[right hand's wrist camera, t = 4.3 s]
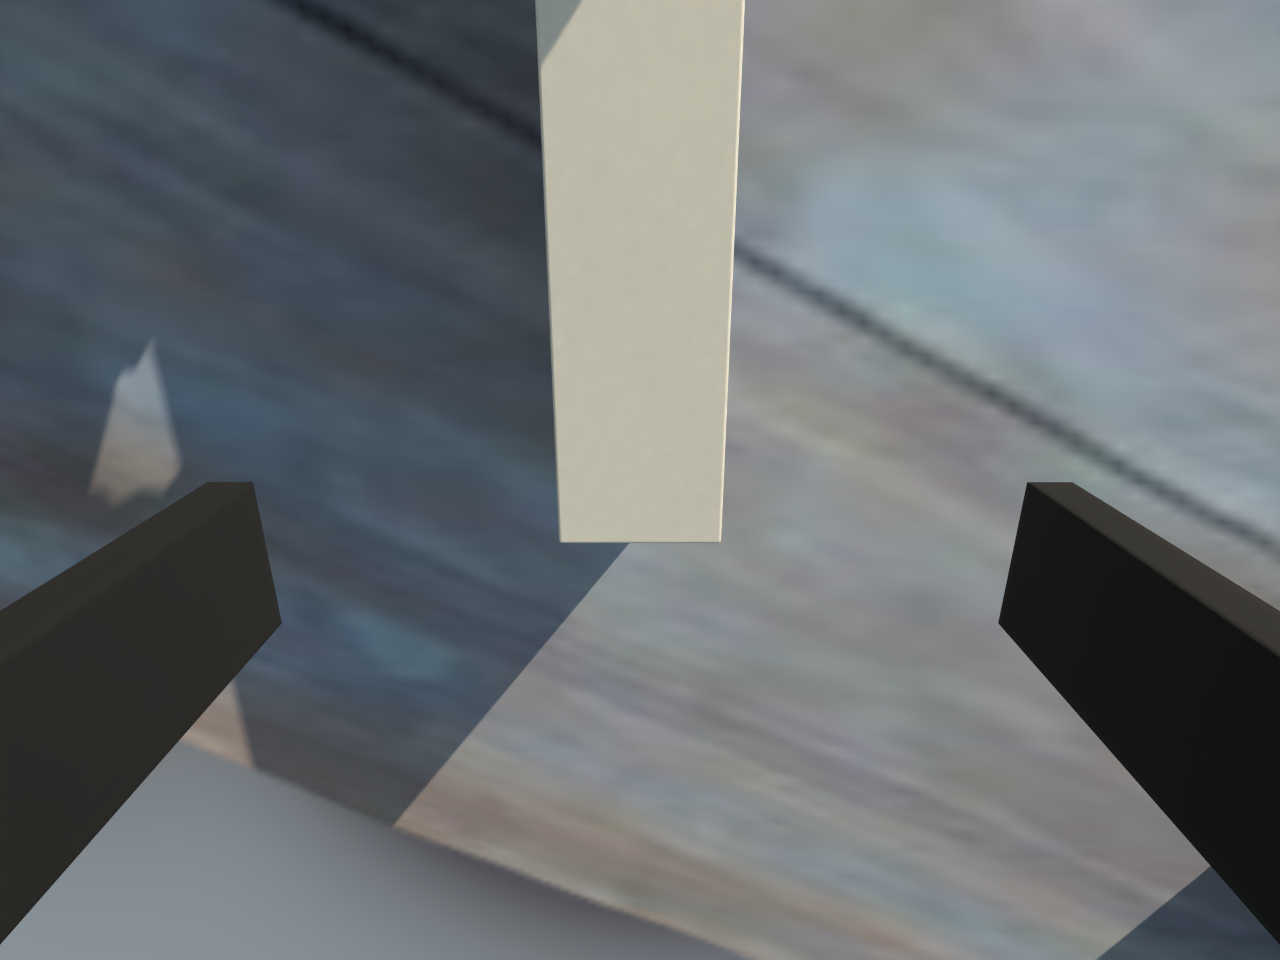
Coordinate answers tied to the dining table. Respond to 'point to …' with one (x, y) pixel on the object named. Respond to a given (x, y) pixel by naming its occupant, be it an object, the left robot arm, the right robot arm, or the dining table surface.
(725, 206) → the beam
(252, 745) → the dining table surface
